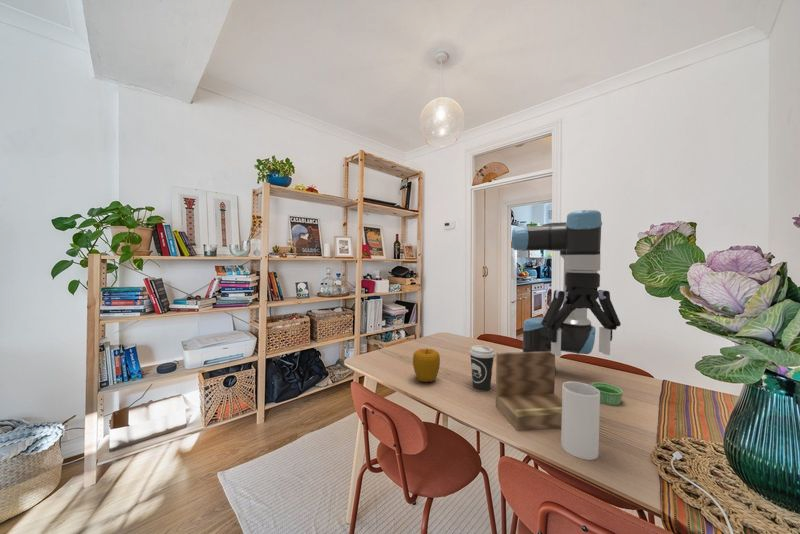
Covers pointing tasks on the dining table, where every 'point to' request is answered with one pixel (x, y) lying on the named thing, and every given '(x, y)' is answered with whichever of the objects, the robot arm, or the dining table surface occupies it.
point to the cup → (580, 420)
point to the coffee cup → (481, 366)
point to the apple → (426, 364)
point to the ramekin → (608, 393)
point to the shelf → (528, 390)
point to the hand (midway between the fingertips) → (580, 354)
